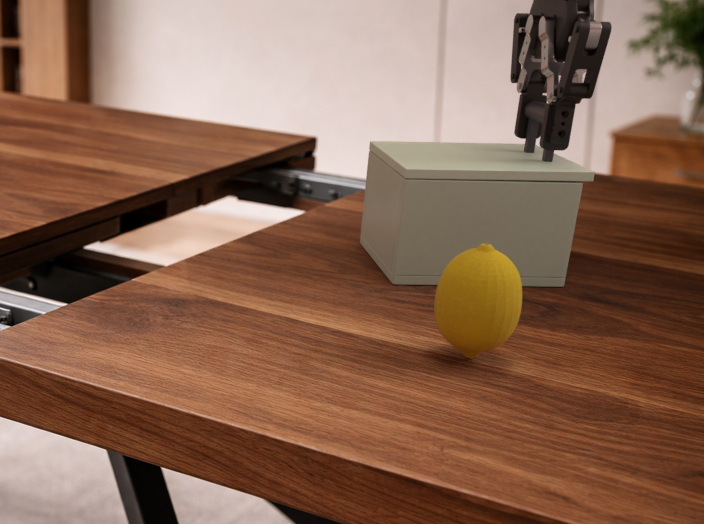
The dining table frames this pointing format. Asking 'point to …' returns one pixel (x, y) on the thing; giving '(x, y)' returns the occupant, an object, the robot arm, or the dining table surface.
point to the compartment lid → (482, 158)
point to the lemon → (478, 300)
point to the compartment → (466, 224)
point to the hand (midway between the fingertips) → (539, 142)
